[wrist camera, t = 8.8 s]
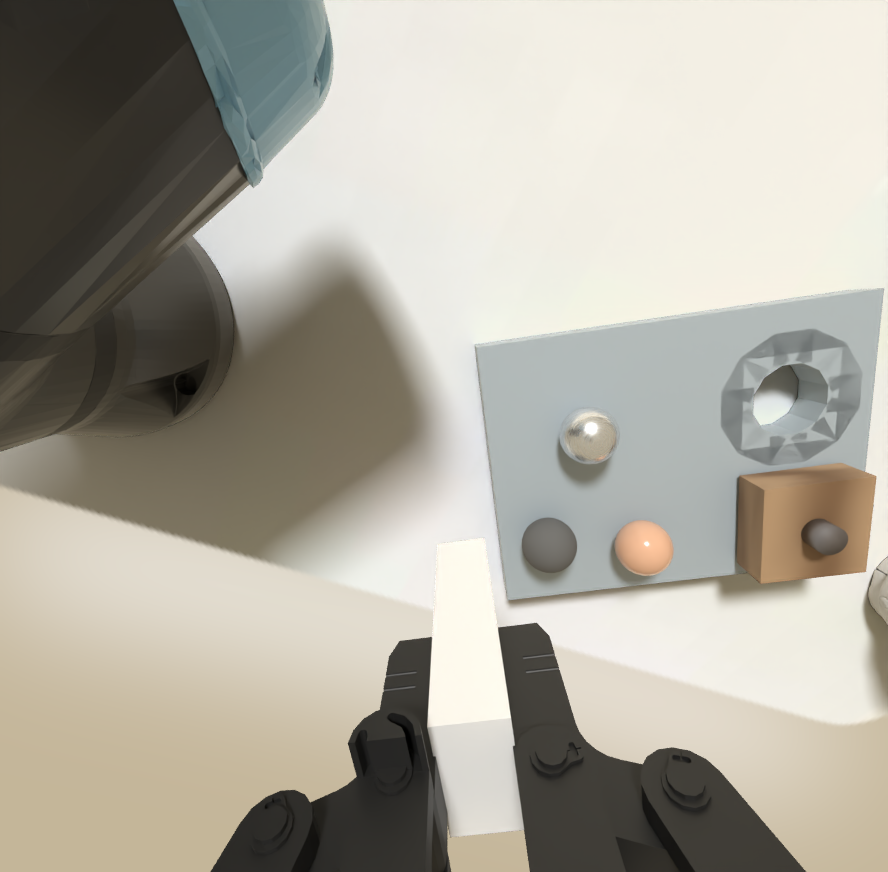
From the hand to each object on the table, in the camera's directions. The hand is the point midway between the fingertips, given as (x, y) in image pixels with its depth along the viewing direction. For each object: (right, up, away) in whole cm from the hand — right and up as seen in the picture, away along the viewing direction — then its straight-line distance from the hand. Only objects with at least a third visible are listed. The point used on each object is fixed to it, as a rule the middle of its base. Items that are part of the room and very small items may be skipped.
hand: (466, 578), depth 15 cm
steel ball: (+8, +5, +13) cm, 16 cm away
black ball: (+6, -3, +15) cm, 16 cm away
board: (+15, +4, +18) cm, 23 cm away
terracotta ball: (+12, -3, +15) cm, 19 cm away
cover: (+22, -1, +16) cm, 27 cm away
